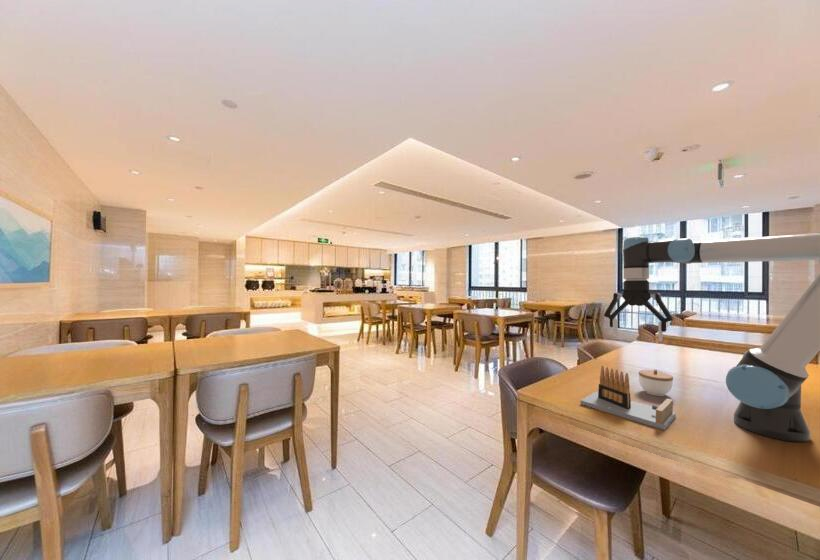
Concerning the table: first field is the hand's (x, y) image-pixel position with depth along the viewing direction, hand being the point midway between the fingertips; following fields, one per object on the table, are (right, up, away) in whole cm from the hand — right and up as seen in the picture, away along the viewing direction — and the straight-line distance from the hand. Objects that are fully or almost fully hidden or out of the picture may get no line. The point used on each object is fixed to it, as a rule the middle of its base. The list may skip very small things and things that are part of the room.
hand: (636, 338), depth 113 cm
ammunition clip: (-10, -22, -3) cm, 25 cm away
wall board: (-8, -24, -6) cm, 26 cm away
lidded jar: (+15, -24, +11) cm, 30 cm away
